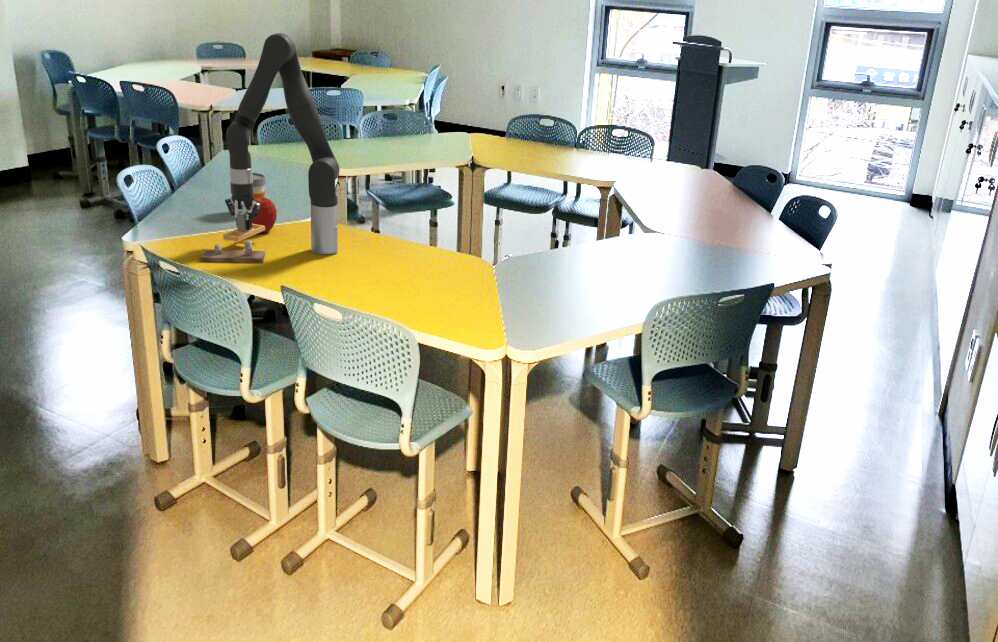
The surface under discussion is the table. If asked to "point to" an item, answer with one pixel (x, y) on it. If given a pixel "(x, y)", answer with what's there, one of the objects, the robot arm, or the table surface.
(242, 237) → the hole bar
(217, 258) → the pin board
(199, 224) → the table surface
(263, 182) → the reusable coffee cup
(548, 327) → the table surface
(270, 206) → the apple
